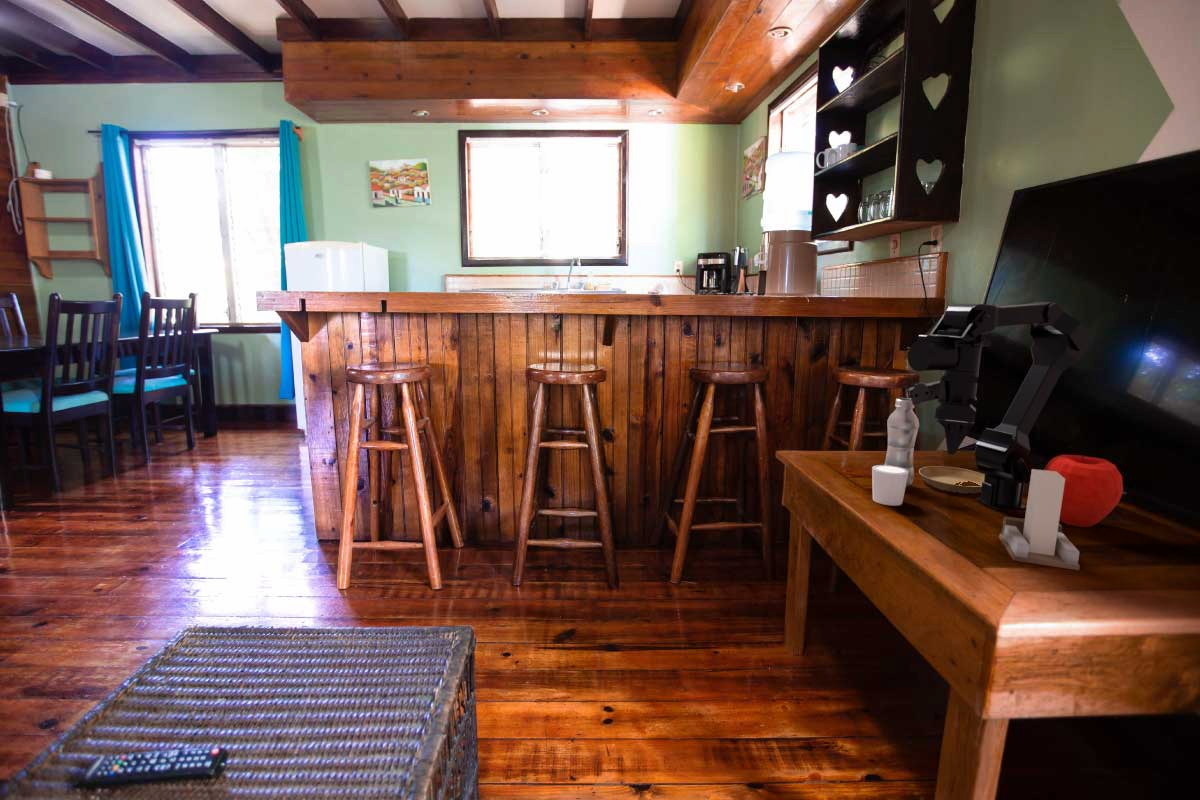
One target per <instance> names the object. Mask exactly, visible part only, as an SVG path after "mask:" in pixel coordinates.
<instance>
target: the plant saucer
mask: <svg viewBox="0 0 1200 800" xmlns="http://www.w3.org/2000/svg"><path fill="white" fill-rule="evenodd" d="M918 473H919V475H920V477H921V478H922V479H923V480H924V482H926V483H927V484H928V485H929V486H931V487H932V488H935V489H937V490H938V489H939V490H942V491H945V490H946V491H945V492H950V491H951V492H952V493H956V492H959V493H958V494H968V493H971V494H979V493H981V488H982V482H984V477H985V473H983V472H979V471H975V470H972V469H971V470H970V469H966V468H960V467H953V466H945V465H944V466H939V465H937V466H936V465H934V466H924V467H921V468H920V469H919V470H918ZM968 481H970V482H973V483H976V484H978V485H980V486H962V485H960V484H962V483H963V482H968ZM959 482H961V483H960V484H959V485H955V484H956V483H959ZM978 492H979V493H978Z"/></svg>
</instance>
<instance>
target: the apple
mask: <svg viewBox="0 0 1200 800" xmlns="http://www.w3.org/2000/svg"><path fill="white" fill-rule="evenodd" d="M1043 470H1046V471H1056V472H1058V473H1059V474H1060V475H1061V476H1062V477H1064V478H1065V484H1064V491H1063V498H1062V504H1061V511H1060V518H1059V522H1062V523H1064V525H1065V524H1066V525H1068V526H1073V527H1077V528H1078V527H1079V528H1089V527H1093V526H1095V525H1096V524H1097V525H1098V523H1099V522H1101V521H1102V520H1103V519H1105V518H1106V517H1107V516H1108V515H1109V514H1110V513H1111V512H1112V511H1113V510H1114V508H1115V507H1116V506H1117V505H1118V503H1119V502H1120V500H1121V497H1122V495H1124V485H1123V476H1122V474H1121V473H1120V471H1119V469H1118V468H1117V466H1116V464H1113V463H1112V462H1110V461H1109V460H1107V459H1105V458H1101V457H1100V458H1099V457H1091V456H1086V455H1084V454H1082V455H1079V454H1078V455H1077V454H1059V455H1056V456H1055V457H1053V458H1051V459H1050V460H1049V461H1048V462H1047V464H1046V465H1045V468H1043Z"/></svg>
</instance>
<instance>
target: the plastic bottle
mask: <svg viewBox="0 0 1200 800" xmlns="http://www.w3.org/2000/svg"><path fill="white" fill-rule="evenodd" d="M894 407H895V410H894V411H893V412H892V413H890V415H889V416H888V419H887V422H886V425H887V450H886V456H885V460H884V464H883V465H890V466H897V467H901V468H904V469H906V470H908V471H909V473H908V478H907V483H906V487H909V486H911V484H912V483H913V482H914V478H915V469H914V452H915V451H914V450H915V448H914V447H915V443H916V439H917V435H918V432H919V428H920V422H919V421H920V420H919V418H918V416H917V414H916V413H915V412H914V410H913V409H914V408H915V405H912V401H911V398H910V397H897V398H896V399H895V404H894Z"/></svg>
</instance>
